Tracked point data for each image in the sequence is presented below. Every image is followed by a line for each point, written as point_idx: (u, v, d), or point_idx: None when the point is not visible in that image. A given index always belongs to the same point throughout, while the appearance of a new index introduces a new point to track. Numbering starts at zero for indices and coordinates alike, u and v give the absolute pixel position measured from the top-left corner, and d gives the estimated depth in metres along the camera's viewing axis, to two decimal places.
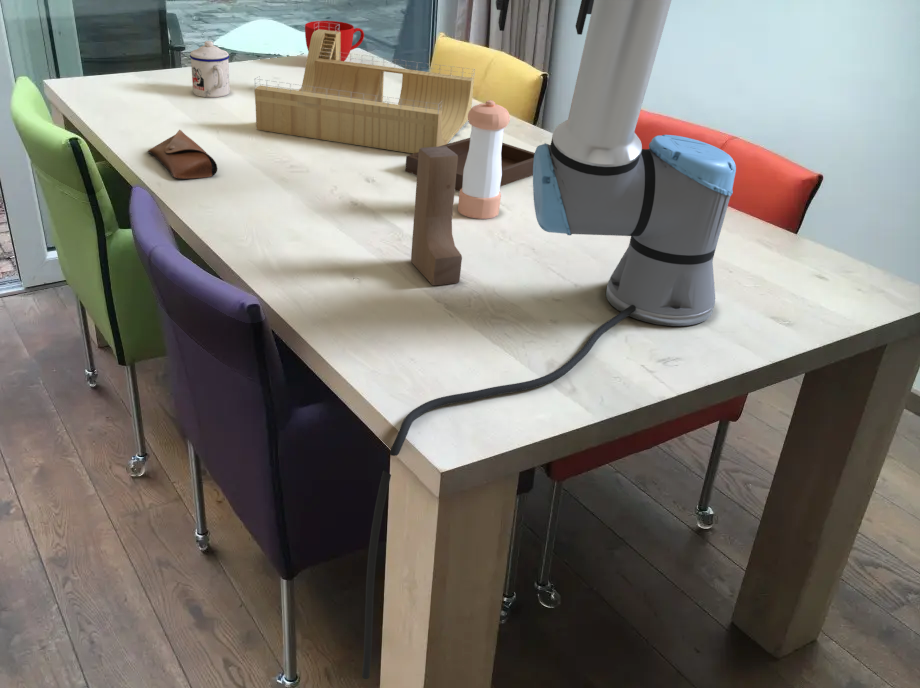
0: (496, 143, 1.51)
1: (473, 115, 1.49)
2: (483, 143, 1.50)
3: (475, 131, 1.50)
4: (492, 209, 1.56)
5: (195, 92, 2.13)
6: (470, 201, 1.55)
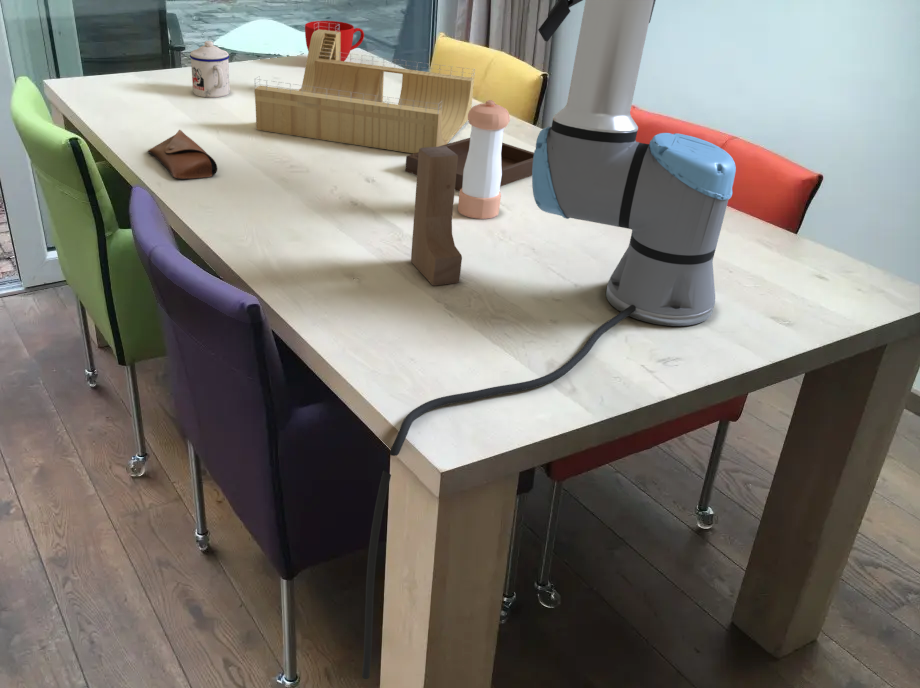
0: (496, 143, 1.51)
1: (473, 115, 1.49)
2: (483, 143, 1.50)
3: (475, 131, 1.50)
4: (492, 209, 1.56)
5: (195, 92, 2.13)
6: (470, 201, 1.55)
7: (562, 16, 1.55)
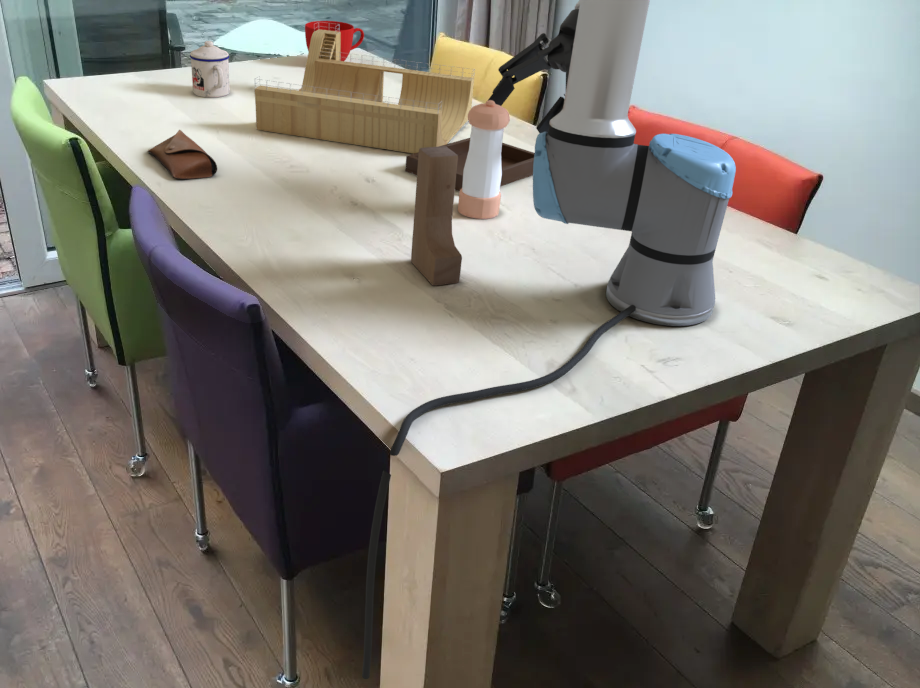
0: (496, 143, 1.51)
1: (473, 115, 1.49)
2: (483, 143, 1.50)
3: (475, 131, 1.50)
4: (492, 209, 1.56)
5: (195, 92, 2.13)
6: (470, 201, 1.55)
7: (506, 93, 1.59)
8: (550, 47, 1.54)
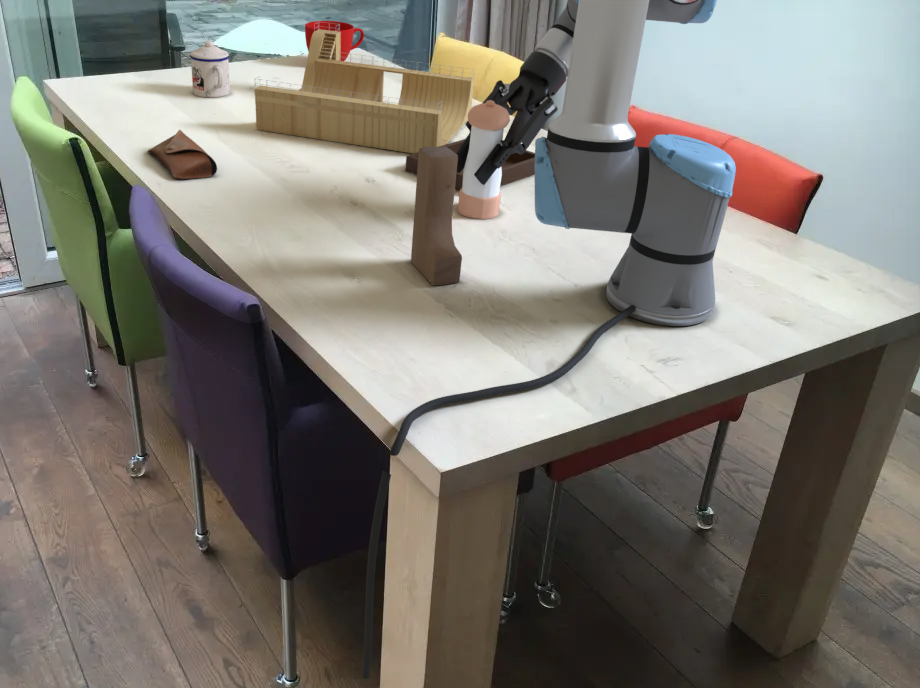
0: (496, 143, 1.51)
1: (473, 115, 1.49)
2: (483, 143, 1.50)
3: (475, 131, 1.50)
4: (492, 209, 1.56)
5: (195, 92, 2.13)
6: (470, 201, 1.55)
7: None
8: (511, 91, 1.53)
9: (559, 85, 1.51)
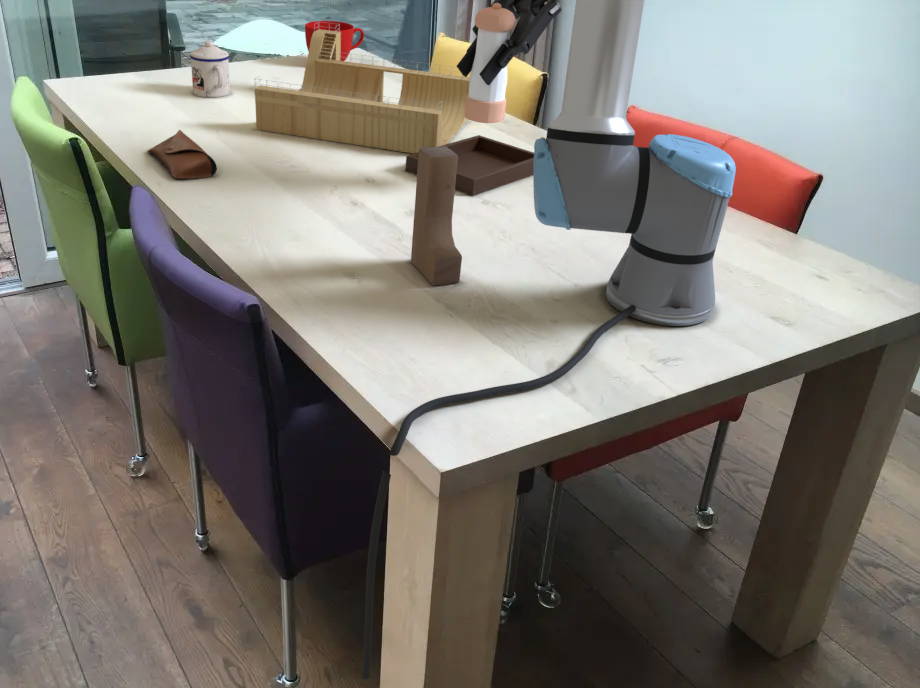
0: None
1: (480, 17, 1.52)
2: (489, 45, 1.54)
3: (482, 33, 1.54)
4: (497, 114, 1.60)
5: (195, 92, 2.13)
6: (476, 105, 1.59)
7: None
8: None
9: None
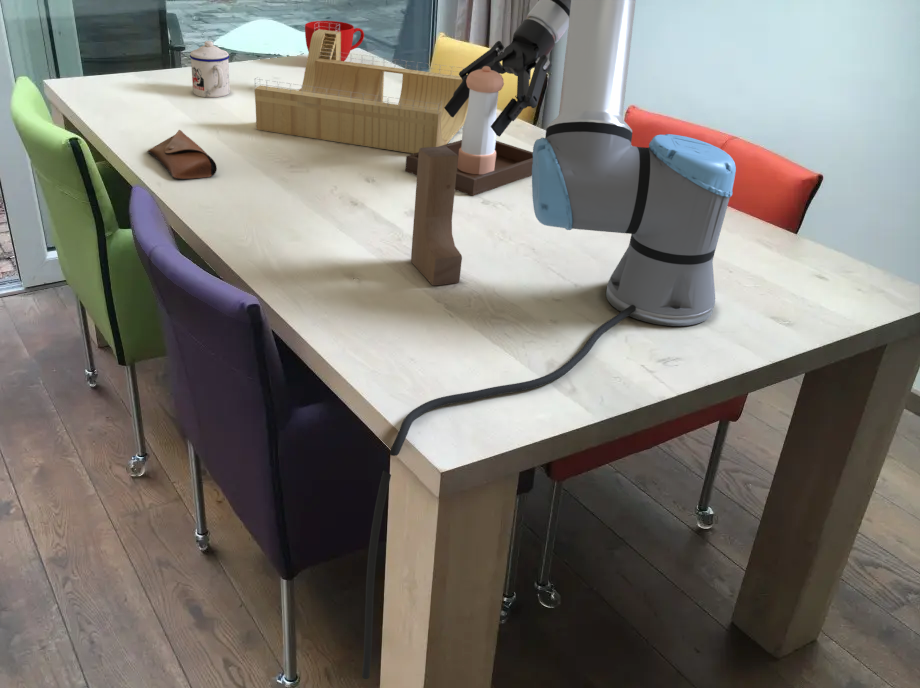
0: (491, 105, 1.68)
1: (471, 79, 1.66)
2: (480, 105, 1.68)
3: (473, 94, 1.68)
4: (488, 166, 1.74)
5: (195, 92, 2.13)
6: (468, 158, 1.73)
7: (465, 95, 1.75)
8: (504, 53, 1.70)
9: (548, 50, 1.69)
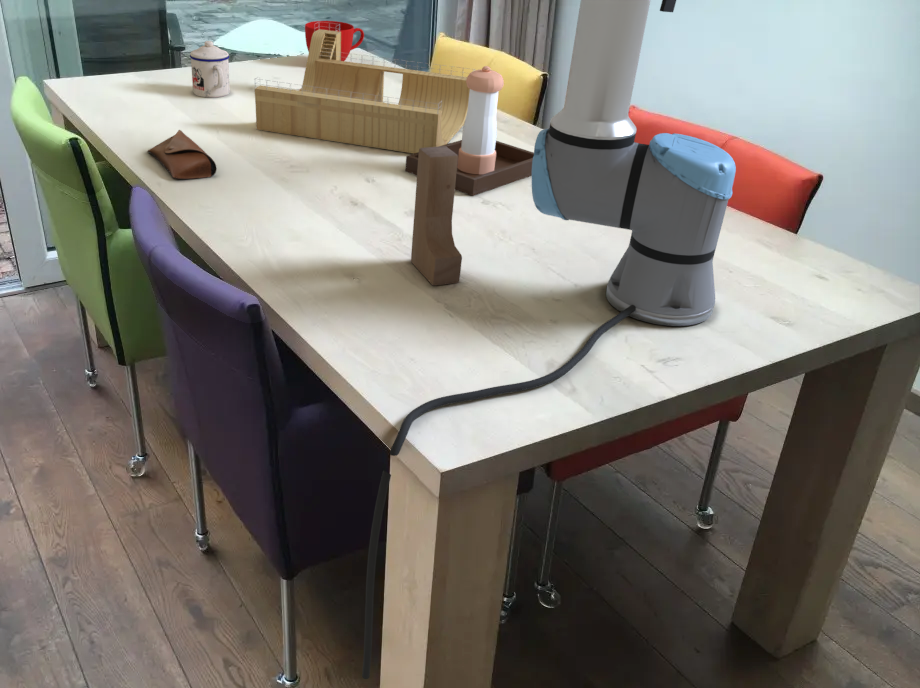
0: (491, 105, 1.68)
1: (471, 79, 1.66)
2: (480, 105, 1.68)
3: (473, 94, 1.68)
4: (488, 166, 1.74)
5: (195, 92, 2.13)
6: (468, 158, 1.73)
7: None
8: None
9: None
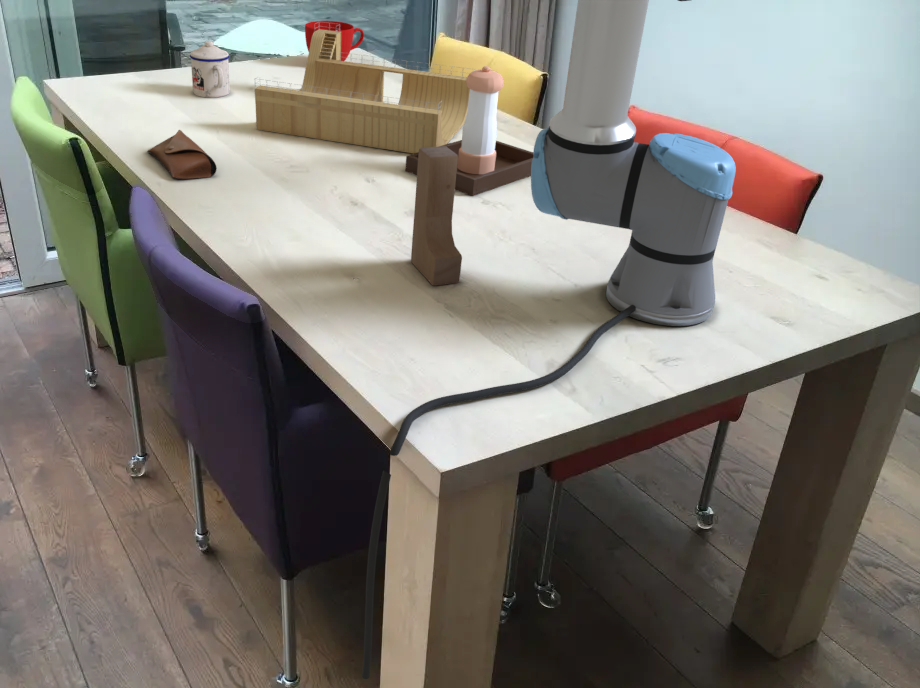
0: (491, 105, 1.68)
1: (471, 79, 1.66)
2: (480, 105, 1.68)
3: (473, 94, 1.68)
4: (488, 166, 1.74)
5: (195, 92, 2.13)
6: (468, 158, 1.73)
7: None
8: None
9: None
